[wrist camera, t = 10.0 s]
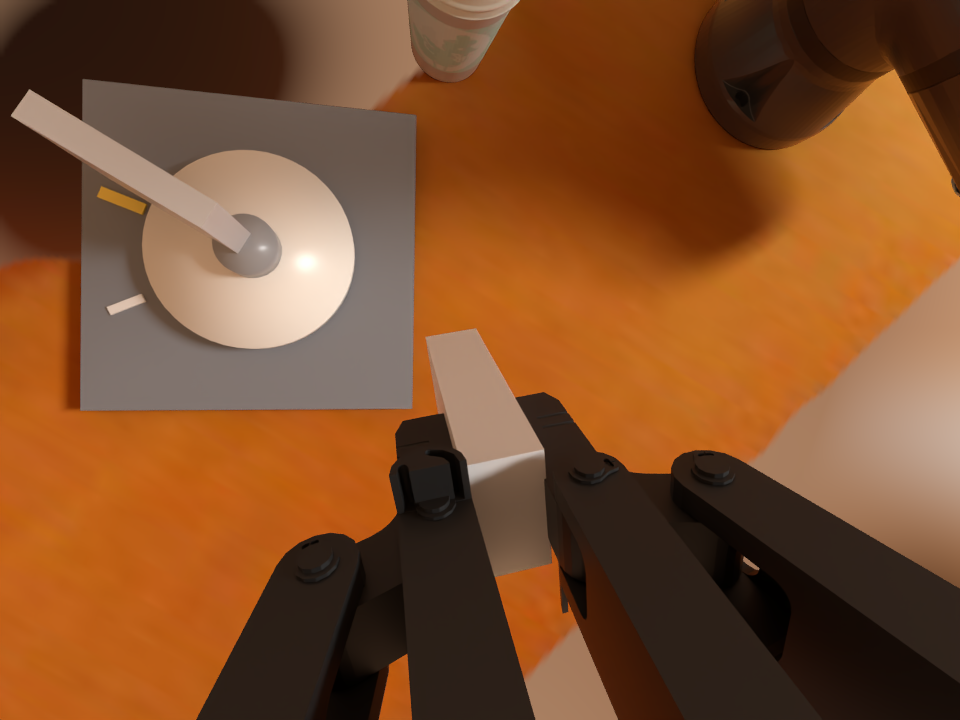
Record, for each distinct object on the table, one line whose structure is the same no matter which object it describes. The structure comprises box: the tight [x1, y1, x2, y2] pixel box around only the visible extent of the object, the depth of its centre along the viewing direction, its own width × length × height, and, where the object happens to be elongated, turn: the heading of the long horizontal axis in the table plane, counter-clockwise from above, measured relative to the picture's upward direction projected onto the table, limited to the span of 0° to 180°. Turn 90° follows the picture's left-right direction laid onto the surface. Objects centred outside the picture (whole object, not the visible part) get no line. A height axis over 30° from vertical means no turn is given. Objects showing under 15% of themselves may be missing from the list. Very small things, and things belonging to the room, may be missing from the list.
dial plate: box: [80, 79, 416, 411], centre depth 38 cm, size 23×23×2 cm
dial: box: [11, 90, 355, 349], centre depth 31 cm, size 17×14×10 cm
